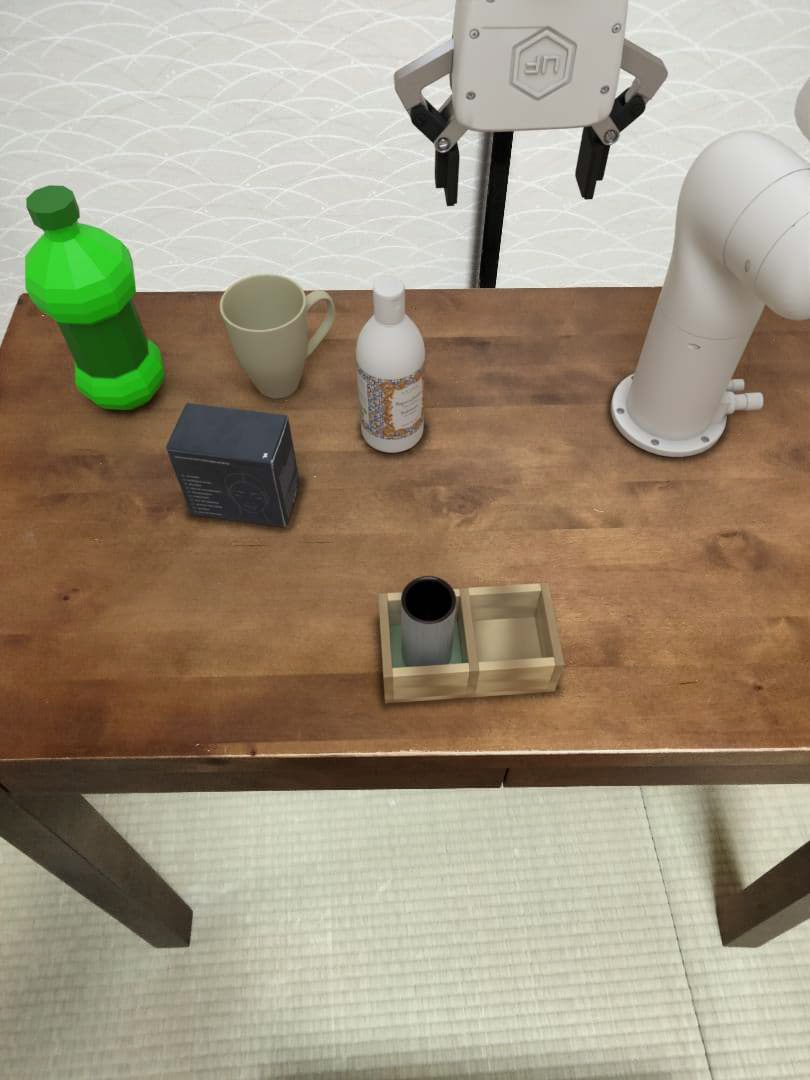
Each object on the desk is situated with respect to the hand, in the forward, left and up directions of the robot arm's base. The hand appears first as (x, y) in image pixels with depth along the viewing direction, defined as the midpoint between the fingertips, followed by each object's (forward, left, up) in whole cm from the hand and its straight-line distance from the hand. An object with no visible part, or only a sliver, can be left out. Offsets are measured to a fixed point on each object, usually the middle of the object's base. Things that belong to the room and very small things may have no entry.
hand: (516, 191), depth 58 cm
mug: (+21, -17, -34) cm, 44 cm away
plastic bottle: (+39, -16, -34) cm, 54 cm away
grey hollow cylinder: (+8, +20, -34) cm, 40 cm away
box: (+25, 0, -34) cm, 43 cm away
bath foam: (+9, -8, -34) cm, 37 cm away
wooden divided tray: (+4, +20, -34) cm, 40 cm away
